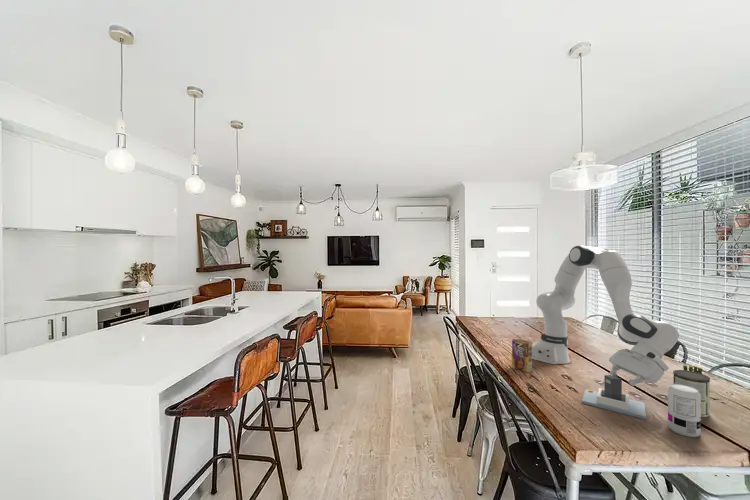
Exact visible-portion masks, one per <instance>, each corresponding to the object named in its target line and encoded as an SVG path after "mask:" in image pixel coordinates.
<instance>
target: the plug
mask: <svg viewBox="0 0 750 500" xmlns="http://www.w3.org/2000/svg"><path fill="white" fill-rule="evenodd" d="M603 384H604V388H603V389H604V397H606V398H610V399H615V400H619V401H622V393H623V392H622V391H623V389H622V385H623V379H622V378H621V377H619V376H618V375H616V376H615V375H611V374H604V383H603Z"/></svg>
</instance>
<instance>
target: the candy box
mask: <svg viewBox="0 0 750 500" xmlns="http://www.w3.org/2000/svg"><path fill="white" fill-rule="evenodd" d="M532 344H533V341H530V340H526V339H522V338H512V339H511V368H512V369H515V370H519V371H522V372H526V373H530V372H532V371H533V365H532V364H533V362H532V361H533V359H532Z"/></svg>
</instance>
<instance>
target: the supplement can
mask: <svg viewBox="0 0 750 500" xmlns="http://www.w3.org/2000/svg"><path fill="white" fill-rule="evenodd" d="M667 427H668V428H669V429H670V430H671V431H672V432H673V433H677V434H678V435H680V436H681V435H682V436H684V437H688V438H698V437H700V436H701V434H702V431H701V430H702V429H701V428H702V417H701V395H700V393H699V392H698V390H697V389H695V388H693V387H690V386H686V385H681V384H674V383H671V384H670V385H669V386H668V388H667Z"/></svg>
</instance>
